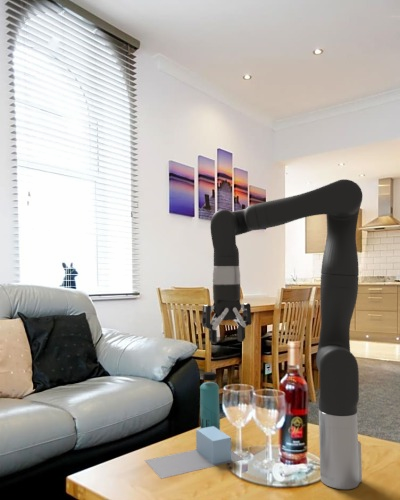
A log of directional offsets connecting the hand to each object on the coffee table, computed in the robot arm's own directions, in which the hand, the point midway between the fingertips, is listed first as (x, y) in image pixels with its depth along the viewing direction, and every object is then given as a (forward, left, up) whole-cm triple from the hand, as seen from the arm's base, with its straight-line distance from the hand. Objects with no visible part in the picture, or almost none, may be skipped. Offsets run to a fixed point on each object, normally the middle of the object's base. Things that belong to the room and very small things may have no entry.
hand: (227, 342), depth 119 cm
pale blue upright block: (+2, -5, -32) cm, 32 cm away
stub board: (+8, -5, -33) cm, 34 cm away
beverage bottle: (-6, -22, -33) cm, 40 cm away
